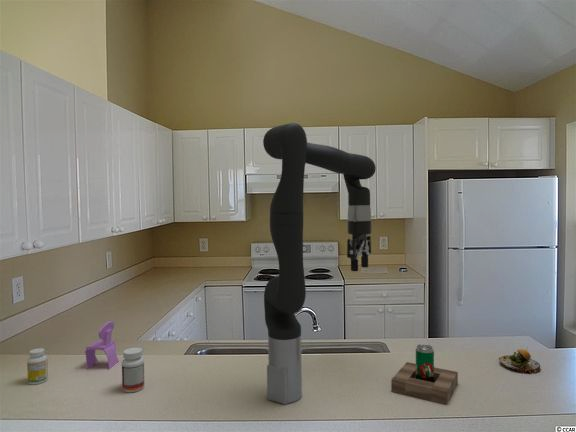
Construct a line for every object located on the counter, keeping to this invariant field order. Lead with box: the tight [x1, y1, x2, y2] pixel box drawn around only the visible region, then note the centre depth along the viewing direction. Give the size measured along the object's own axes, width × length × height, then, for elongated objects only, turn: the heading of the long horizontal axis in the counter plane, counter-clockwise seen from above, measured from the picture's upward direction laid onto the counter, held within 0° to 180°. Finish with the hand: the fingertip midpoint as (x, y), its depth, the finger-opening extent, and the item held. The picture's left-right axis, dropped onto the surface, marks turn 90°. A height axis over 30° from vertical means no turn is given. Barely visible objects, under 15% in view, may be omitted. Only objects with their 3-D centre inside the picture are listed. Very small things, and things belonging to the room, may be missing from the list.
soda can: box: [415, 343, 435, 383], centre depth 120 cm, size 5×5×12 cm
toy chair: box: [84, 320, 120, 370], centre depth 140 cm, size 8×9×15 cm
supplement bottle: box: [26, 347, 49, 385], centre depth 128 cm, size 5×5×10 cm
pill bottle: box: [121, 347, 145, 393], centre depth 122 cm, size 6×6×11 cm
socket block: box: [390, 361, 459, 406], centre depth 120 cm, size 15×15×4 cm
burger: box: [498, 348, 541, 375], centre depth 134 cm, size 12×12×8 cm
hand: (359, 269), depth 135 cm, fingers open, 8 cm apart
